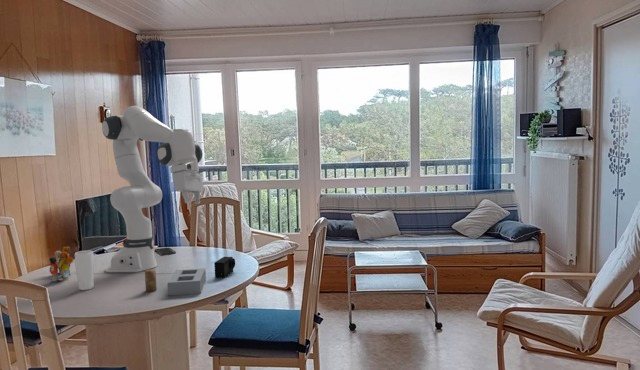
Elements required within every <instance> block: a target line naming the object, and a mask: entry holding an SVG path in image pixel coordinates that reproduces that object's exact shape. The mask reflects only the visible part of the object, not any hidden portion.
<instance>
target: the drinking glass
mask: <svg viewBox="0 0 640 370" xmlns="http://www.w3.org/2000/svg"><path fill="white" fill-rule="evenodd" d="M74 259H75V260H74V264H75V270H76V272H75V273H76V277H77V283H78V289H79V290H80V291H89V290H92V289H93V288H94V287H95V285H94V276H95V274H94V273H95V272H94V271H95V255H94V251H93V250H90V249H89V250H88V249H87V250H86V249H85V250H80V251H76V252H75V253H74Z"/></svg>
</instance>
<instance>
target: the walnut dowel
mask: <svg viewBox="0 0 640 370" xmlns="http://www.w3.org/2000/svg"><path fill="white" fill-rule="evenodd" d="M156 271H157V270H156V269H154V268H151V269H146V270H144V281H145V282H144V284H145V292H146V293H153V292H156V291H157V290H158V289H157V273H156Z"/></svg>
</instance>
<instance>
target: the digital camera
mask: <svg viewBox="0 0 640 370" xmlns="http://www.w3.org/2000/svg"><path fill="white" fill-rule="evenodd" d="M213 265H214V278H215V279H225V278H226V277H228V276H229V275H231V274H233V272H234V268H235V266H236V259H235V258H234V257H233V256H223V257H221V258H219V259H218V260H216V261H215V262H214V264H213Z"/></svg>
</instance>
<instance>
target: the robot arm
mask: <svg viewBox="0 0 640 370" xmlns="http://www.w3.org/2000/svg"><path fill="white" fill-rule="evenodd" d="M101 130H102V134H103V136H104V137H105V138H106V139H107V140H111V141H112V152H113V157H114V161H115V165H116V170H117V173H118V175H119V177H120V178H121V179H124V180H125V181H127V183H128V184H129V185H127V186H122V187H119V188H116V189H114V190H113V191H112V192H111V194H110V199H109V200H110V203H111V206H112V207H113V208H114V209H115V210H117V211H118V212H119V213H120V214H121V216H122V217H123V219H124V223H125V228H126V229H125V230H126V237H125V238H124V239H123V240H122V244H121V245H122V246H123V247H121V248H120V249H119V250H118V251H116V252H115V253H114V254H113V255H112V256H111V258H110V264H109V265H108V266H106V268H105V272H106V273H140V272H143V271H145V270H149V269H154V268H155V267H157V266H158V262H157V260H156V256H155V252H154V251H155V248H154V247H155V241H154V236H153V225H152V221H151V219H150V218H149V217H147V216H145V215H144V213H143V210H142V209H144V208H145V209H146V208H150V207H153V206H156V205H158V204H160V203H161V201H162V199H163V191H162V189H161V187H160V186H158V185H157V184H155V182H154V181H152V180H151V179H150V178H149V176H148V175H147V173H146V172H145V169H144V165H143V163H142V158H141V154H140V152H139V147H138V144H137V143H138V140H139V141H145V142H154V143H161V144H160V145H158V147H157V149H156V158H157V160H158V162H159V163H160V164H161V165H163V166H166V167H170V168H169V170H170V173H171V174H172V175H171V176H172V181H173V186H174V189H175V191H176V192H180V193H181V196H182V198H183V199H184V204H191V198H190V196H189V193H190V194H193V196H194V200H193V202H194V204H195V205H196V204H197V205H198V204H201V193H204V191H205V190H204V189H205V187H204V182H203V178H202V176H201V174H200V173H199V172H200V168H199V163H200V162H201V160H202V158H203V150H202V148H201V146H200V145H199V144H198V142H196V141H195V140H194V136H193V134H192V132H191V130H189V129H187V128H177V129H174V128H172V127H170V126H168V125H166V124H164V123H163V122H161V121H160V120H158V118H156V117H155V116H153V115H152V114H151V113H150V112H149V111H147V110H146V109H145V108H143V107H141V106H139V105H130V106H129V107H127V108H126V109H125V110H124V111H123V115H122V114H121V115H110V116H107V117H105V118H104V119H103V120H102V123H101Z"/></svg>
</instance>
